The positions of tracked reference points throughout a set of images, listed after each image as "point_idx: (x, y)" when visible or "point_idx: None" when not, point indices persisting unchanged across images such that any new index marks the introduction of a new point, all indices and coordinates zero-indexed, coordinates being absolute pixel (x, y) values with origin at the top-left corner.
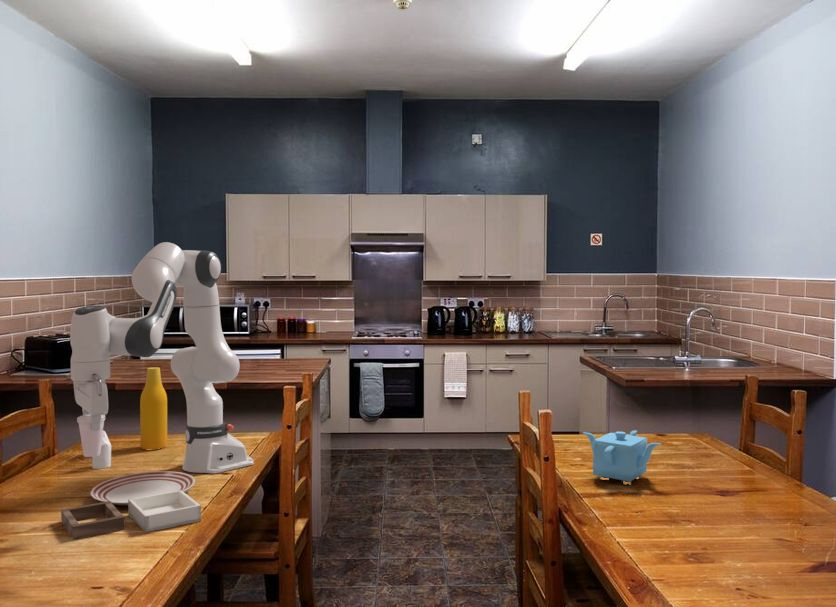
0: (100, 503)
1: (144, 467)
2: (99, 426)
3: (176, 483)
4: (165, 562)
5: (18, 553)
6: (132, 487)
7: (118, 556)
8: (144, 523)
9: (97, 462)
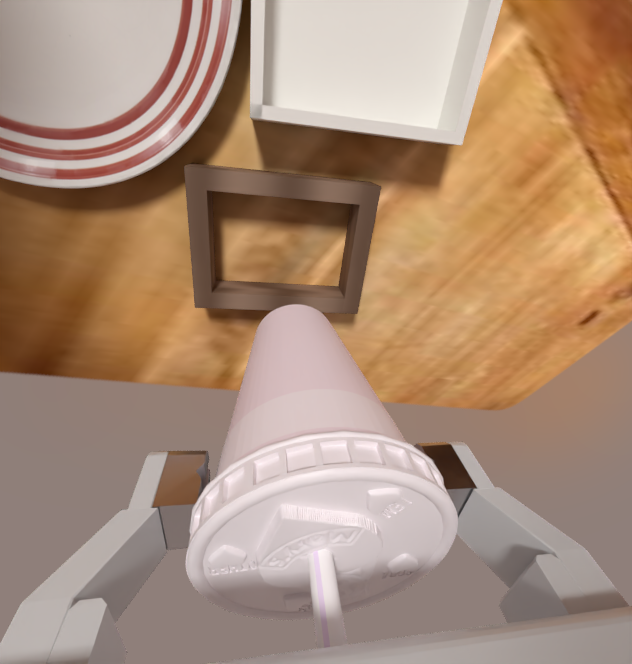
0: (197, 201)
1: None
2: (477, 461)
3: None
4: (628, 184)
5: None
6: None
7: (512, 252)
8: (441, 143)
9: None
